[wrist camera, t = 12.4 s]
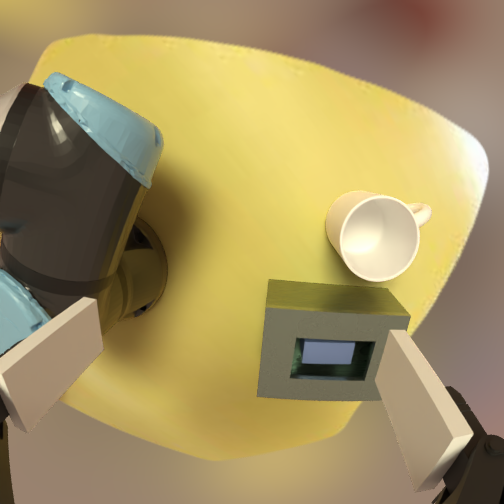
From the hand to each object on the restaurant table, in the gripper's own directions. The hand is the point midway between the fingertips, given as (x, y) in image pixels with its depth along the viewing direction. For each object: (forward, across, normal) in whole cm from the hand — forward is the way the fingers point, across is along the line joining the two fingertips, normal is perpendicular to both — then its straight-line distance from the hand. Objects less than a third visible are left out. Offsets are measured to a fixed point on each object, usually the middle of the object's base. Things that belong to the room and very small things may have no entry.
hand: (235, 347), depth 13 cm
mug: (+27, +13, +3) cm, 30 cm away
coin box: (+27, +9, -12) cm, 31 cm away
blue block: (+26, +9, -12) cm, 30 cm away
